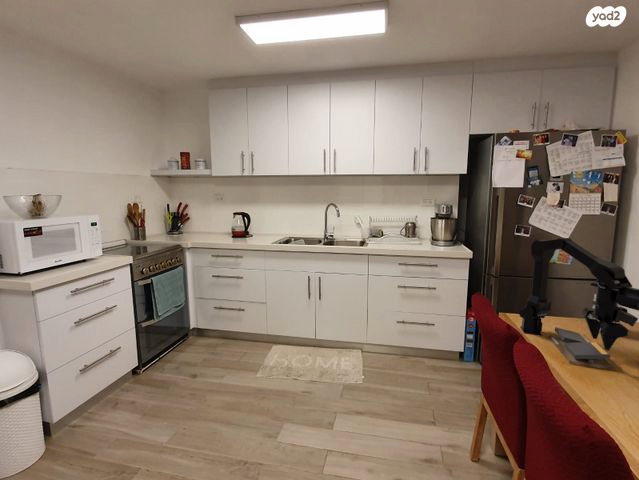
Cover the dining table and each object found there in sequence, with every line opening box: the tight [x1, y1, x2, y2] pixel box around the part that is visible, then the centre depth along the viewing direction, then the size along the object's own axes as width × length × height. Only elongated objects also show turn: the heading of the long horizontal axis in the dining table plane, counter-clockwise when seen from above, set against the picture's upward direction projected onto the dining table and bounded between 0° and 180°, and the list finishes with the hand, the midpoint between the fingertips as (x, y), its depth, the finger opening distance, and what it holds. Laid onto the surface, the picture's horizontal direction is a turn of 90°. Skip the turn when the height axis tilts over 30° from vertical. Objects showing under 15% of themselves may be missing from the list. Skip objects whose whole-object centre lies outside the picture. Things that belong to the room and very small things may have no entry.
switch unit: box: [548, 334, 616, 371], centre depth 125 cm, size 13×22×2 cm, turn 161°
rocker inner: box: [554, 326, 592, 343], centre depth 129 cm, size 10×10×2 cm
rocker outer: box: [564, 341, 611, 360], centre depth 119 cm, size 10×10×2 cm
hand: (600, 344), depth 117 cm, fingers open, 9 cm apart
